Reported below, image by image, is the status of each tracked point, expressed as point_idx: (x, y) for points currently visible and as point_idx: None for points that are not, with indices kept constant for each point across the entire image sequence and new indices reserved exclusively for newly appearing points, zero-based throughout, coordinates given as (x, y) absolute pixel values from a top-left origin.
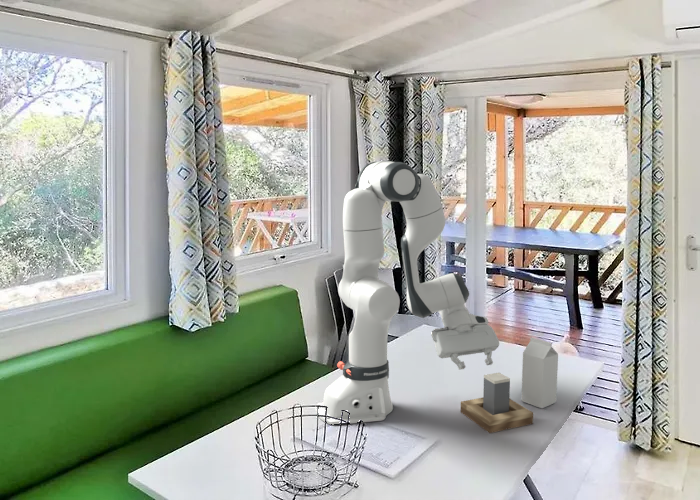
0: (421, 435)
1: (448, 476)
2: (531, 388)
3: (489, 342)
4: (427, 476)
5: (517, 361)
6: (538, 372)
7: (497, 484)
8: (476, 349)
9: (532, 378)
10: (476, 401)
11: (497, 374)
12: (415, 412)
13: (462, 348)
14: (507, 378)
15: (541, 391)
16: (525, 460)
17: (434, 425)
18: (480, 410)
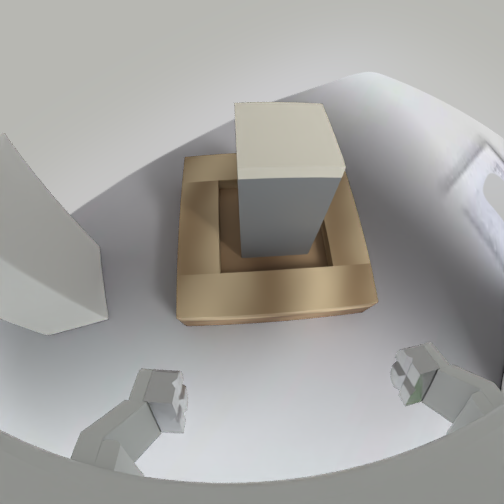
0: (469, 222)
1: (429, 112)
2: (75, 259)
3: (39, 492)
4: (453, 124)
5: None
6: (35, 194)
7: (371, 79)
8: (266, 482)
9: (52, 237)
10: (320, 285)
11: (265, 148)
12: (470, 343)
13: (467, 444)
14: (245, 105)
15: (73, 220)
16: (306, 91)
17: (445, 255)
18: (338, 214)
